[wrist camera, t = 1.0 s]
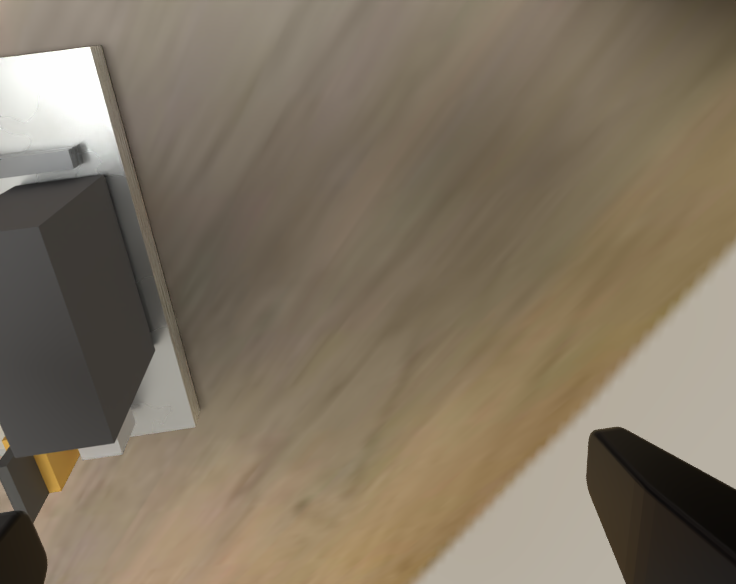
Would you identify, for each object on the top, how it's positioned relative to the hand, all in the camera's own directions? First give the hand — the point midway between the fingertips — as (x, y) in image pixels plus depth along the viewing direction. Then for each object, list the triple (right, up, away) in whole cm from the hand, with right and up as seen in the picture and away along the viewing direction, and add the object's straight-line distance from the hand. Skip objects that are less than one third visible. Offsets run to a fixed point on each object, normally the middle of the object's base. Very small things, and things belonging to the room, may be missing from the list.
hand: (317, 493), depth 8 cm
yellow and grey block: (-9, -1, +11) cm, 14 cm away
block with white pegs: (-9, +2, +10) cm, 14 cm away
